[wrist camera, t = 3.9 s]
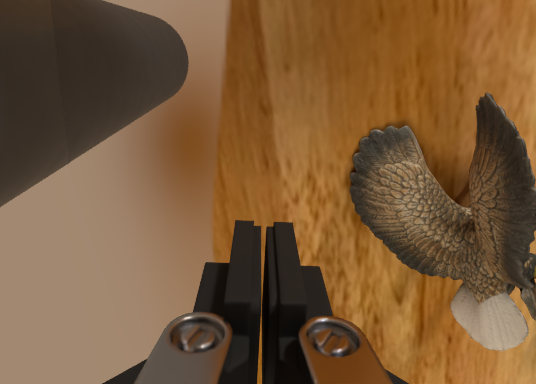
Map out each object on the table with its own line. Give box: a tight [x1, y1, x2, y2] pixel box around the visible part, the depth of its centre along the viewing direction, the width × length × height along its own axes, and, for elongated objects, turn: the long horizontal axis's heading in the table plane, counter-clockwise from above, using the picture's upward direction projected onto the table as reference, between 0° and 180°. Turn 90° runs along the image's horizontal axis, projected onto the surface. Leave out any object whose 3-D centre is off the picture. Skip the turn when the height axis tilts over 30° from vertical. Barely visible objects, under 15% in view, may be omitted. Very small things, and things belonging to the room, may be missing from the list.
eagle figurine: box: [350, 93, 536, 351], centre depth 16 cm, size 8×7×9 cm
